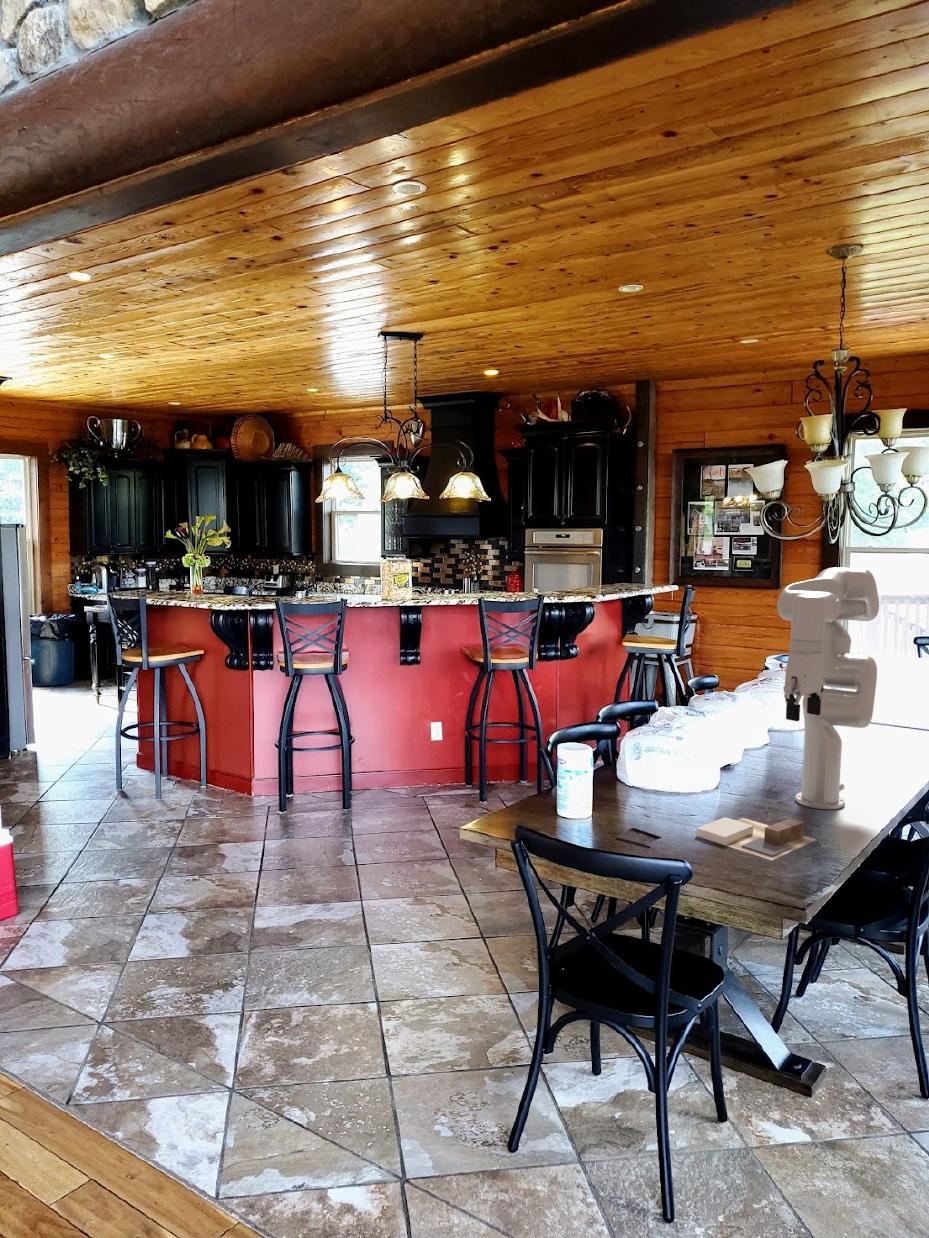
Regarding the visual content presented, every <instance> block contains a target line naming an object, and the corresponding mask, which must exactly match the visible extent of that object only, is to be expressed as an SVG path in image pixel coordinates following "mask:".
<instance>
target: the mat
mask: <svg viewBox="0 0 929 1238" xmlns="http://www.w3.org/2000/svg"><path fill="white" fill-rule="evenodd" d="M742 847H743V848H746V849H749V850H752V851H756V852H759V853H762V854H765V855H768V856H771V857H774V856H776V855H778V854H780V853H782V852H785V851H787V850H789V849H791V847H790V846H787V845H784V844H781V845H779V846H776V845H773V844H770V843H767V842H764V838H761V837H760V838H758V839H755V840H753V841H751V842H749V843H746V844H744V845H742Z"/></svg>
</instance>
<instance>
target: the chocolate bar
mask: <svg viewBox="0 0 929 1238" xmlns="http://www.w3.org/2000/svg"><path fill="white" fill-rule="evenodd" d="M662 838H663V837H662V836H659V835H656V834H653V833H650V832H648V831H645V830H641V829H638V828H636V827H632V828H629V829H628V830H626V831H625V832H623V833H621V834H619V835H617V836H615V840H617V841H621V842H625V843H629V844H634V845H636V846H640V845H641V847H644V848H647V847H648V849H650V848H651V846H649V845H646V844H648V843H651V842H654V841H657V840H659V839H662Z"/></svg>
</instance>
